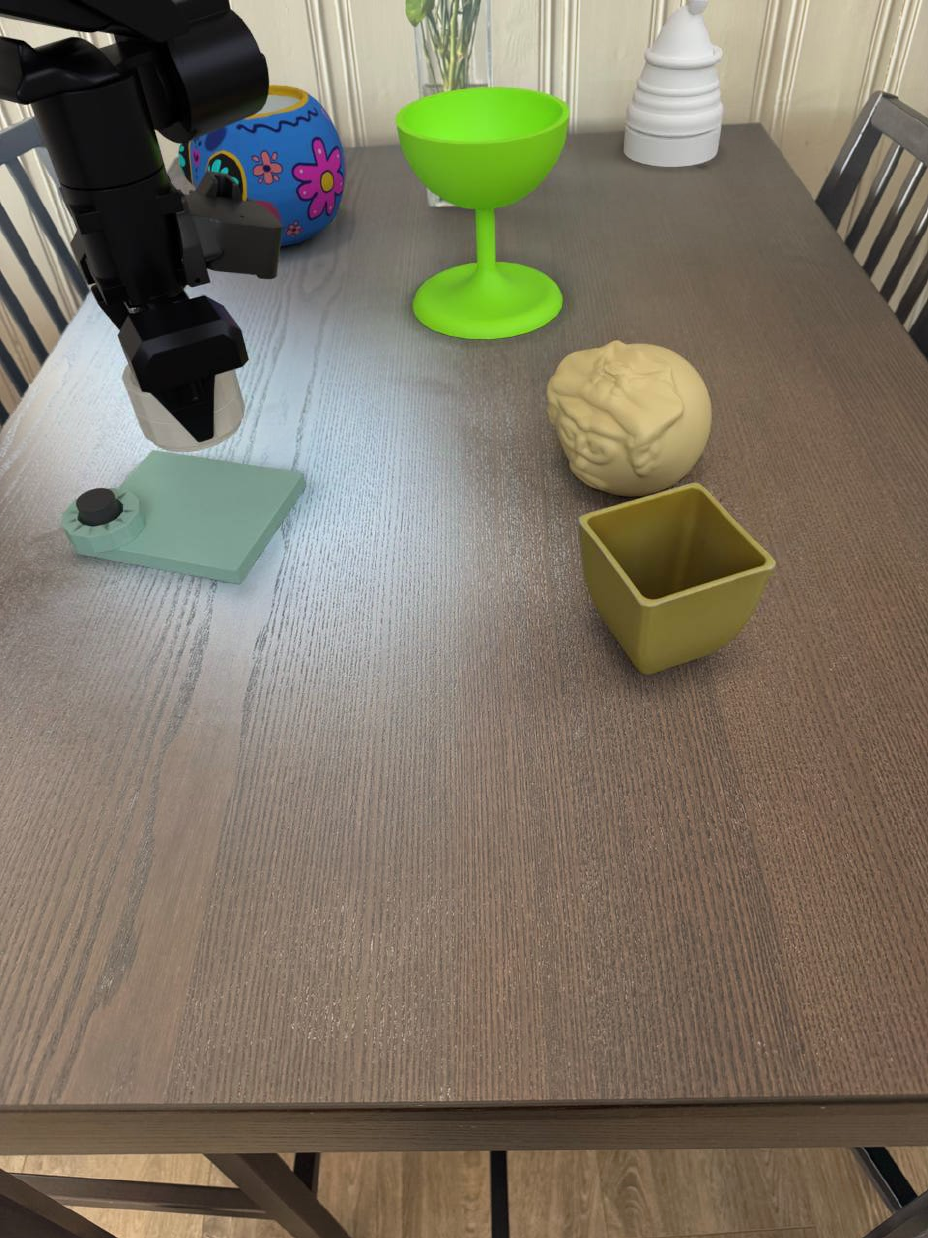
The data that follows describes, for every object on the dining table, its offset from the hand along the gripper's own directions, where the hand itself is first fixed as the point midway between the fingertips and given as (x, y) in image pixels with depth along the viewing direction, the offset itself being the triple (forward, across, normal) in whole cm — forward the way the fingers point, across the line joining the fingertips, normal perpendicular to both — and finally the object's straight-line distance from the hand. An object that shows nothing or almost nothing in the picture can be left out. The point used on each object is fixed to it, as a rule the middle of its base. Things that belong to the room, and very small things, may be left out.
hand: (190, 412), depth 59 cm
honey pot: (+12, +48, -78) cm, 93 cm away
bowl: (+1, 0, 0) cm, 1 cm away
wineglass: (+12, +23, -36) cm, 44 cm away
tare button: (+9, +4, +8) cm, 13 cm away
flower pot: (+12, -25, -22) cm, 35 cm away
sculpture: (+12, -9, -31) cm, 34 cm away
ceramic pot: (+12, +51, -22) cm, 57 cm away
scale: (+11, +4, +2) cm, 12 cm away
